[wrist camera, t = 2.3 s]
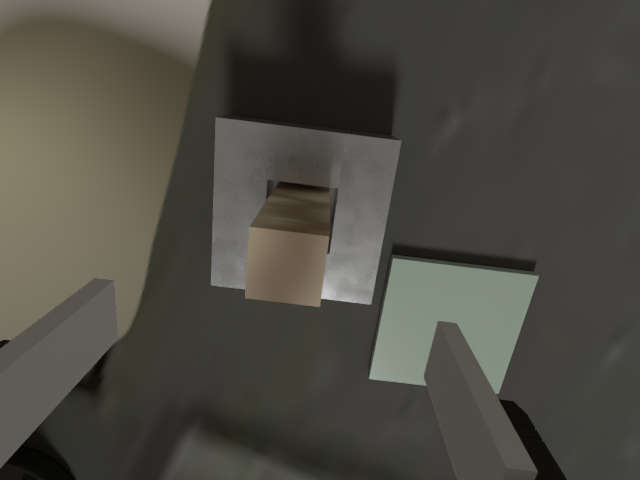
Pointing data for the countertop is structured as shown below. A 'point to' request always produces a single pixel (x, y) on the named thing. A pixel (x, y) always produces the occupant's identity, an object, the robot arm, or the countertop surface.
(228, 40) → the countertop surface
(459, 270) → the pad
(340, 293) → the hole block
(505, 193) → the countertop surface
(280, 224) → the square peg
